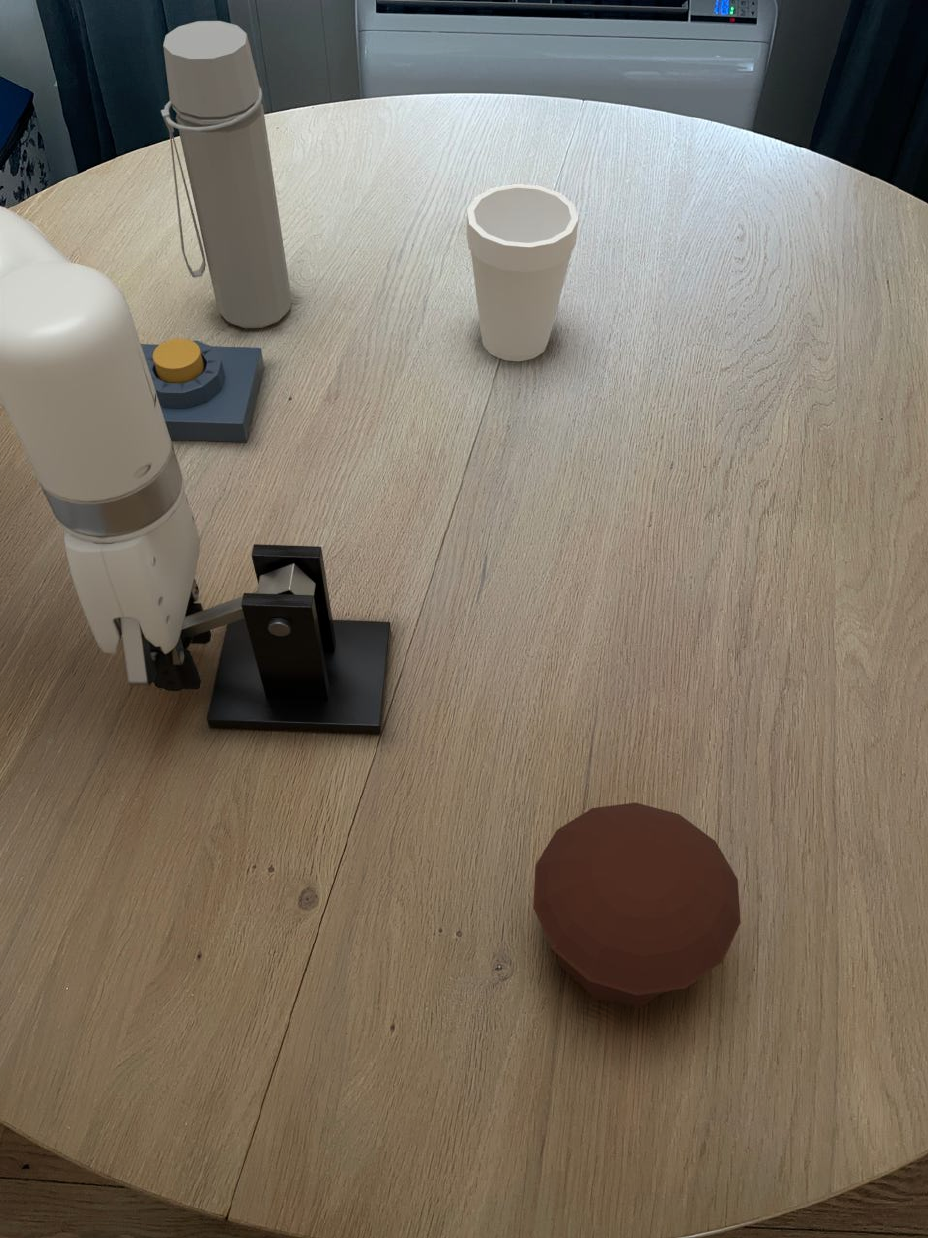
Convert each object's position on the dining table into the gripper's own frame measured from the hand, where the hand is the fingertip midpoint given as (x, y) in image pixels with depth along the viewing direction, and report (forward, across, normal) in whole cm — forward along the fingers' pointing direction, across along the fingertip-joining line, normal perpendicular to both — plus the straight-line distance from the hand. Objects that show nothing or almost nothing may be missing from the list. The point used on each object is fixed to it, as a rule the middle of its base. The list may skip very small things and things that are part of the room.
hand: (184, 661), depth 74 cm
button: (-2, -29, -5) cm, 30 cm away
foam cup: (+2, -39, +24) cm, 45 cm away
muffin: (+3, +18, +30) cm, 35 cm away
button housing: (+1, -29, -5) cm, 30 cm away
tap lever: (-4, 0, +5) cm, 6 cm away
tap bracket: (+2, 0, +8) cm, 9 cm away
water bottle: (+1, -42, -2) cm, 42 cm away
